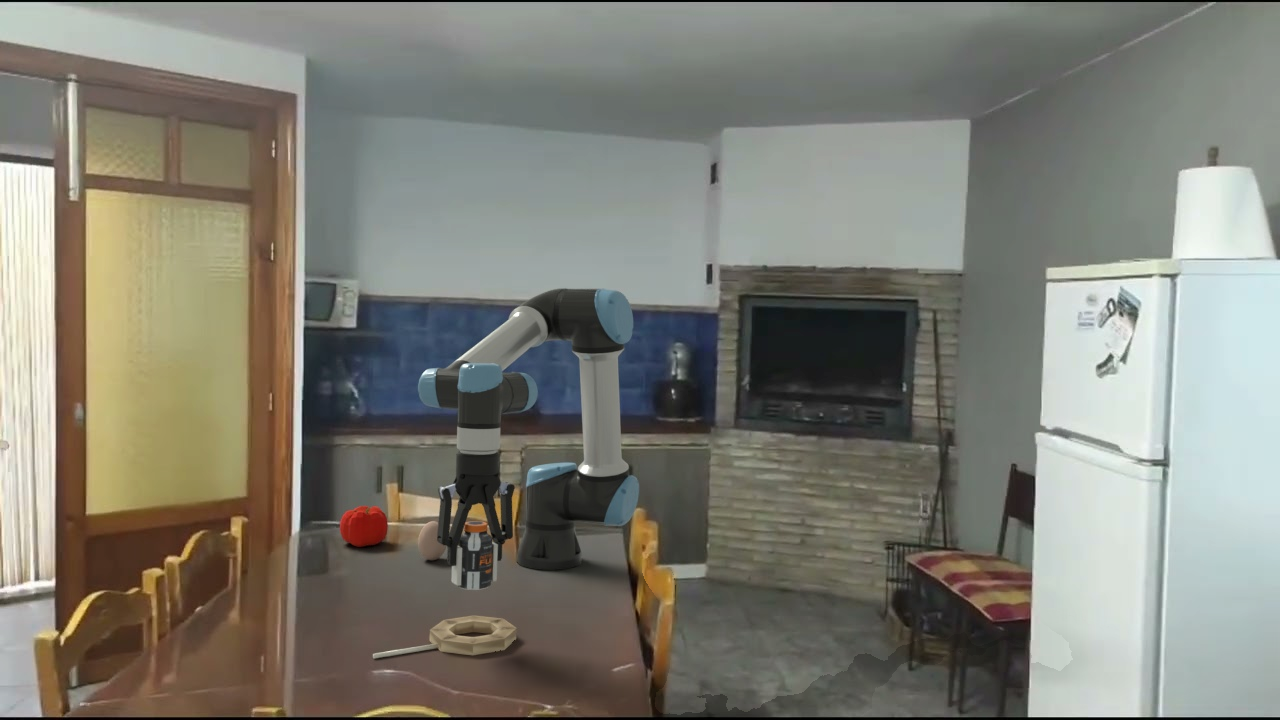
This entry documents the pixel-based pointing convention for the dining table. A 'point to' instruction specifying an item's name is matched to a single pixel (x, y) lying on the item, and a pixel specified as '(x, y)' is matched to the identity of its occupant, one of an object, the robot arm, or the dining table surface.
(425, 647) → the white thin rod
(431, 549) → the egg
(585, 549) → the dining table surface
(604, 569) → the dining table surface
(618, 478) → the robot arm
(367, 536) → the tomato
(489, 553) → the pill bottle
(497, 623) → the beige flat ring
